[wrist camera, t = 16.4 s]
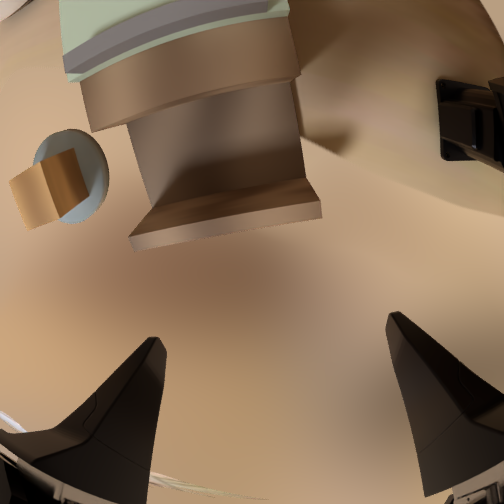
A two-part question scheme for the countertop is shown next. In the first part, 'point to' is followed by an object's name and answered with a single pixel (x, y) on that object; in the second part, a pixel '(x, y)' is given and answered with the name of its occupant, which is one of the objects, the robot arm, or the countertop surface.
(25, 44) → the countertop surface
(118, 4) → the cover
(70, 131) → the grey dome cap
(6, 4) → the spread jar
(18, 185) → the block
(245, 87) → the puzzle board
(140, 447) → the robot arm
